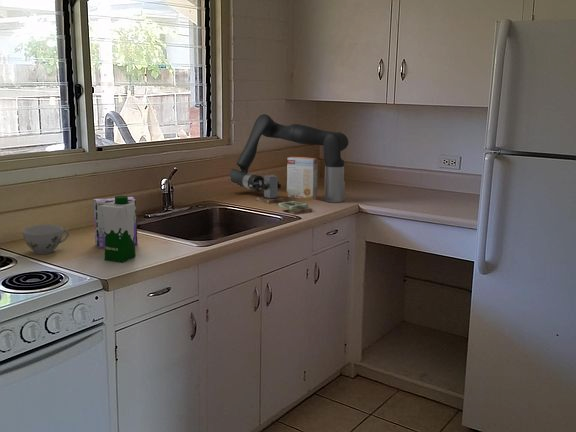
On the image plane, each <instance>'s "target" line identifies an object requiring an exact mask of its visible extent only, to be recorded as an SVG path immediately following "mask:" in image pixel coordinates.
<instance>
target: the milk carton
mask: <svg viewBox="0 0 576 432" xmlns="http://www.w3.org/2000/svg"><path fill="white" fill-rule="evenodd" d="M128 197H129V196H127V195H117V196H114V198H115V202H111V203H107V204H105V205H102V206H100V207H101V210H102V214H103V218H104V234H105V247H104V259H103V260H104V261H107V262H117V263H125V262H127V261H129V260H132V259H134V258H136V248H135V246H136V245H135V244H134V220H133V216H134V206H135V203H129V202H128Z"/></svg>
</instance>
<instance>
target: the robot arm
mask: <svg viewBox="0 0 576 432" xmlns="http://www.w3.org/2000/svg"><path fill="white" fill-rule="evenodd" d="M262 136H263V137H265V138H272V139H282V140H284V141H285V140H286V141H289V142H293V143H297V144H301V145H306V146H307V145H308V146H323V148H322V150H323V161H324V189H323V190H324V193H323V194H324V195H323V197H324V198H323V202H326V203H342V202H345V196H346V195H345V194H346V193H345V192H346V182H345V180H344V179H345V160H344V159H343V158H342V157H341V156H342V155H341V154H342V153H341V152H342V151H344V150H345V149H347V148H348V146H349V138H348V137H347V136H346V135H345V134H344V133H342V132H341V131H328V130H322V129H320V128H315V127H312V126H309V125H304V124H299V123H293V124H289V125H284V124H280V123H278V122H276V121H274V119H273V118H271V116H269V115H268V114H266V113H265V114H260V115H259V116H258V117H256V120H255V122H254V123H253V127H252V129H251V130H250V134H249V135H248V139H247V142H246V144H245V147H244V148H243V149H242V152H241V153H240V155H239V157H238V158H239V159H237V160H238V161H237V160H236V162H237V164H236V166H237V165H238V166H239V167H240V169H241V171H239V169H237V168H231V169H232V170H231V172H230V174H229V175H230V177H231V181H232V182H234V183H237V184H238V185H240V187H242V188H246V189H248V190H252V191H256V192H260V191H262V190H263V191H264V190H268V186H267V185H264V176H262V175H258V174H254V173H248V172H249V168H250V167H251V165H252V164H253V161H254V160H255V158H256V155H257V150H258V145H259V142H260V139H261V137H262ZM238 166H237V167H238ZM239 167H238V168H239ZM281 188H282V184H281V183H280V182H279V181H278V189H281Z"/></svg>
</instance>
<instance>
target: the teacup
mask: <svg viewBox="0 0 576 432" xmlns="http://www.w3.org/2000/svg"><path fill="white" fill-rule="evenodd" d="M21 232H22V236H23V239H24V242H25V244H26V245H27V247H29V248H30V250H31V251H33V252H34V253H35V254H38V255H46V254H50V253H54V251H55V250H56V249H57V248H58V246H59V245H60V244H61V243H64V242H65V241H66V240H67V239H68V238H69V237H70V231H69V229H68V228H64V227H62V226H60V225H55V224H38V225H30V226H28V227H26V228H23V229H22V230H21ZM64 233H66V236H65V237H64V238H63V234H64Z"/></svg>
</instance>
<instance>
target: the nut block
mask: <svg viewBox="0 0 576 432" xmlns="http://www.w3.org/2000/svg"><path fill="white" fill-rule="evenodd" d="M278 177H279V176H278V175H275V174H268V175H264V176H263V178H264V185H267V186H268V190H264V189H263V196H264V198H265V199H269V200H271V199H277V198H278V197H279V195H278V194H279V193H278V192H279V191H278V190H279V188H278V182H279V178H278Z"/></svg>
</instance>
